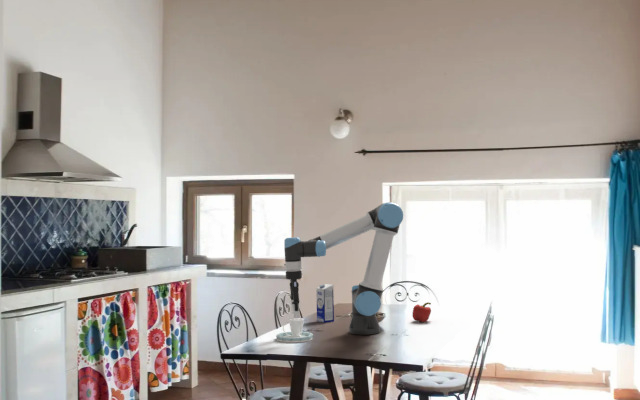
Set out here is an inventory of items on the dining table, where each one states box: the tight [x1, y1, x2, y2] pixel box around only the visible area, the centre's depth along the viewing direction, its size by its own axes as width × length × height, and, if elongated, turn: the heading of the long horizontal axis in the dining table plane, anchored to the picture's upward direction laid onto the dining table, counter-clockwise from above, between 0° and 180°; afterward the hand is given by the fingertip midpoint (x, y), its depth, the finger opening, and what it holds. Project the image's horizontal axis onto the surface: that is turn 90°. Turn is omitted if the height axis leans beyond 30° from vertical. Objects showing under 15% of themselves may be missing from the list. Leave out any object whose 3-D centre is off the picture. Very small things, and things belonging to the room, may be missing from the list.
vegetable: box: [412, 302, 432, 323], centre depth 346 cm, size 11×10×10 cm
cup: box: [282, 317, 305, 337], centre depth 306 cm, size 7×10×8 cm
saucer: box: [275, 331, 314, 344], centre depth 303 cm, size 17×17×2 cm
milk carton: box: [315, 283, 335, 324], centre depth 353 cm, size 7×7×20 cm
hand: (295, 315), depth 303 cm, fingers open, 13 cm apart
